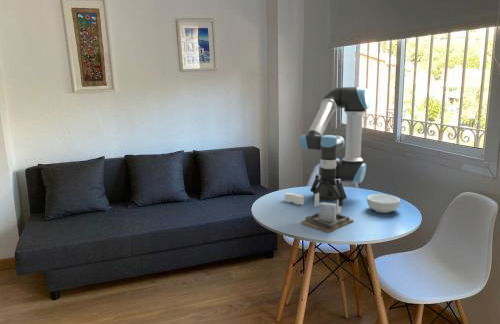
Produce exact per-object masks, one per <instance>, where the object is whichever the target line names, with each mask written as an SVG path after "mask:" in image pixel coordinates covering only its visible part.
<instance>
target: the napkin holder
mask: <svg viewBox="0 0 500 324" xmlns="http://www.w3.org/2000/svg"><path fill="white" fill-rule="evenodd" d="M284 202H285V203H290V202H293V203H292V204H294V203H295V205H299V204H301V206H304V204H305V195H301V194H298V193H294V192H293V193H291V192H285V193H284Z"/></svg>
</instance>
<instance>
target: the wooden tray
mask: <svg viewBox="0 0 500 324" xmlns="http://www.w3.org/2000/svg"><path fill="white" fill-rule="evenodd" d="M352 223H354V219H352V218H350V216H347V215H343V214H340V213H337V212H336V221H335V222H334V223H332V222H324V221H319V211H318V212H316V213H313V214H309V215H307V216H305V218H304V220H302V221H300V224H302V225H305V226H308V227H311V228H313V229H316V230H320V231H323V232H324V233H325V232H326V233H329V234H330V233H331V232H335V231H336V230H338V229H340V228H342V227H344V226H348V225H349V224H352Z"/></svg>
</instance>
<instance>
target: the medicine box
mask: <svg viewBox="0 0 500 324" xmlns="http://www.w3.org/2000/svg"><path fill="white" fill-rule="evenodd" d="M318 212H319V221H324V222H332V223H334V222H335V221H336V213H337V203H332V202H331V203H330V202H324V201H323V202H319V206H318Z"/></svg>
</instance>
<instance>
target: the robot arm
mask: <svg viewBox="0 0 500 324" xmlns="http://www.w3.org/2000/svg"><path fill="white" fill-rule="evenodd" d="M369 108H370V94H369V91H368V89H367V88H366V87H364V86H363V87H361V86H354V87H353V86H349V87H348V86H344V87H343V86H342V87H341V86H340V87H336V88H334V89H332V90H330V91H328V92H327V93H326V95H324V96H323V97H322V100H321V101H320V108H319V110H318V112H317V114H316V116H315V118H314V119H313V121H312V124H311V126H310V128H309V130H308V132H307V134H306V133H305V134H301V136H300V137H299V141H298V143H299V144H298V145H299V147H300V149H302V150H311V151H320V161H319V164H318V165H319V167H318V174H316V175H315V179H314V181H313V184H312V185H311V188H310V192H312V193H313V200H314V207H319V204H320V200H325V201H335V200H336V213H337V214H340V213H341V212H342V207H343V205H344V200H347V198H348V196H347V194H346V192H345V188H344V186H343V182H346V183H352V184H360V183H362V182H363V180H364V178H365V175H366V171H367V164H366V163H364V159H363V158H362V157H361V156H362V138H363V137H362V134H363V133H362V132H363V117H364V116H363V115H364V114H365V113H366V111H367V109H369ZM337 109H344V111H343V112H344V113H345V114H346V125H345V126H346V127H345V129H346V131H345V132H346V133H345V138H344V137H343V136H341V135H336V134H335V135H333V134H325V131H326V129H327V126H328V124H329V122H330V120H331V118H332V116H333V113H334V112H336V111H337ZM344 147H345V150H344V151H345V152H344V153H345V154H344V157H343V158H342V159H340V158H338V157H337V153H338V152H340V151H342V149H343V148H344ZM341 160H342V161H341Z"/></svg>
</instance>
